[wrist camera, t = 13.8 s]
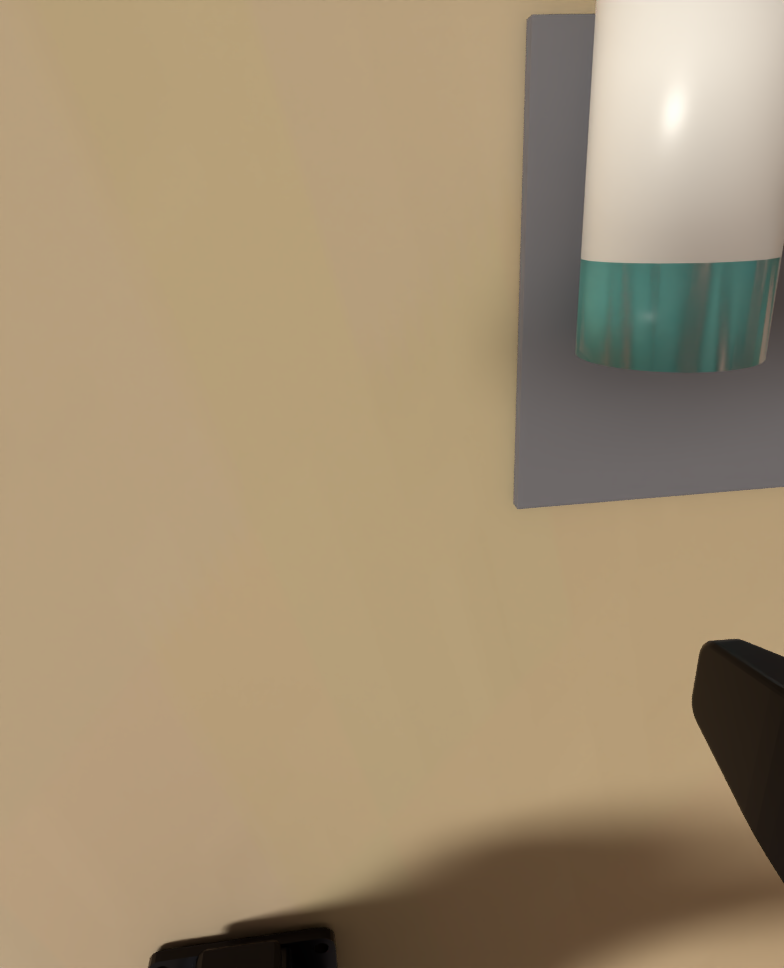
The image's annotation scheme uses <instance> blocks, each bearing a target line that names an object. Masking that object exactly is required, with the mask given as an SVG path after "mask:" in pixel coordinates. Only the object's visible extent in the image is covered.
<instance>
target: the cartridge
mask: <svg viewBox="0 0 784 968" xmlns="http://www.w3.org/2000/svg"><path fill="white" fill-rule="evenodd" d="M783 245H784V0H596V13H595V29H594V46H593V63H592V79H591V96H590V113H589V130H588V146H587V163H586V180H585V197H584V213H583V230H582V247H581V264H580V280H579V297H578V314H577V331H576V347H575V354H576V356H578V357H579V358H581V359H583V360H585V361H588V362H591V363H595V364H599V365H604V366H609V367H615V368H622V369H630V370H640V371H653V372H679V373H695V372H718V371H729V370H737V369H744V368H749V367H753V366H756V365H759V364H761V363H763V362H764V361H765V359H766V353H767V347H768V340H769V334H770V328H771V321H772V315H773V308H774V302H775V296H776V289H777V283H778V277H779V270H780V264H781V258H782V251H783Z"/></svg>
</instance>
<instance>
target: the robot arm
mask: <svg viewBox="0 0 784 968" xmlns="http://www.w3.org/2000/svg"><path fill="white" fill-rule="evenodd" d="M692 708H693V713H694V716H695V719H696V721H697V724H698V726H699V728H700V730H701V732H702V734H703V736H704V737H705V739H706V741H707V743H708V745H709V747H710V749H711V751H712V753H713V755H714V757H715V759H716V761H717V763H718V765H719V767H720V769H721V771H722V773H723V775H724V777H725V779H726V781H727V783H728V785H729V787H730V789H731V791H732V793H733V795H734V797H735V799H736V801H737V803H738V805H739V807H740V809H741V811H742V813H743V815H744V817H745V819H746V821H747V823H748V824H749V826H750V828H751V830H752V832H753V834H754V835H755V837H756V839H757V841H758V842H759V844H760V846H761V847H762V849H763V851H764V852H765V854H766V856H767V857H768V859H769V860H770V862H771V864H772V865H773V867H774V868H775V870H776V872H777V873H778V875H779V876H780V878H781V880H782V881H783V883H784V657H783V656H781V655H778V654H776V653H773V652H771V651H768V650H766V649H763V648H761V647H758V646H756V645H753V644H751V643H748V642H746V641H743V640H740V639H727V640H715V641H708V642H707V643H705V644H704V645H703V646H702V648H701V650H700V654H699V659H698V665H697V671H696V676H695V682H694V688H693V694H692ZM148 968H338V964H337V954H336V943H335V935H334V932H333V931H332V930H330V929H328V928H315V929H308V930H301V931H294V932H287V933H280V934H273V935H266V936H259V937H252V938H245V939H238V940H231V941H224V942H217V943H210V944H203V945H196V946H188V947H181V948H174V949H167V950H161V951H158V952H156V953H154V954H153V955H152V956H151V958H150V961H149V966H148Z"/></svg>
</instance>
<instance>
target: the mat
mask: <svg viewBox="0 0 784 968" xmlns="http://www.w3.org/2000/svg"><path fill="white" fill-rule="evenodd" d="M594 29H595V14H546V15H531V16H530V17H529V18H528V19H527V35H526V71H525V107H524V143H523V179H522V216H521V252H520V288H519V324H518V360H517V396H516V432H515V469H514V505H515V506H516V508H517V509H524V508H536V507H548V506H560V505H572V504H584V503H596V502H607V501H619V500H631V499H643V498H655V497H667V496H679V495H691V494H703V493H715V492H727V491H739V490H751V489H763V488H774V487H784V245H783V251H782V258H781V264H780V270H779V277H778V283H777V289H776V296H775V302H774V308H773V315H772V321H771V328H770V334H769V340H768V347H767V353H766V359H765V361H764V362H763V363H761V364H759V365H756V366H753V367H749V368H744V369H737V370H729V371H718V372H695V373H679V372H653V371H640V370H630V369H622V368H615V367H609V366H604V365H599V364H595V363H591V362H588V361H585V360H583V359H581V358H579V357H578V356H576V354H575V347H576V331H577V314H578V297H579V280H580V264H581V247H582V230H583V213H584V197H585V180H586V163H587V146H588V130H589V113H590V96H591V79H592V63H593V46H594Z"/></svg>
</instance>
